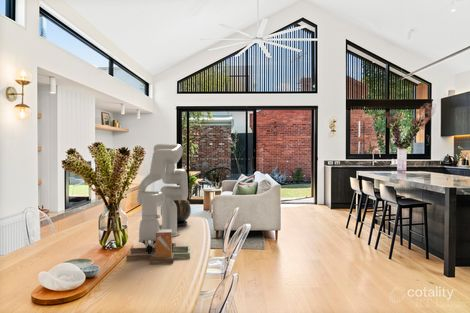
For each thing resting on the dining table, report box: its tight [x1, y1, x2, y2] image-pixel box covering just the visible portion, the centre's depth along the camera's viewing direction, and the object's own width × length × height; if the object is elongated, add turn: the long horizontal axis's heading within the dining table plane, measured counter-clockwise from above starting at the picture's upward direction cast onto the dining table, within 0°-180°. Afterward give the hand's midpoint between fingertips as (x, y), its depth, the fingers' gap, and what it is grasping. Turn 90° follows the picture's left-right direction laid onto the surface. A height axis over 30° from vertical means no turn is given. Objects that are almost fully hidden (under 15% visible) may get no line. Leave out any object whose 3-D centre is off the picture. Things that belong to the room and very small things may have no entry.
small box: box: [155, 229, 173, 258], centre depth 172 cm, size 8×6×13 cm
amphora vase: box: [160, 198, 192, 228], centre depth 243 cm, size 22×22×28 cm
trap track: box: [125, 242, 191, 265], centre depth 173 cm, size 26×31×2 cm
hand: (149, 253), depth 172 cm, fingers closed
